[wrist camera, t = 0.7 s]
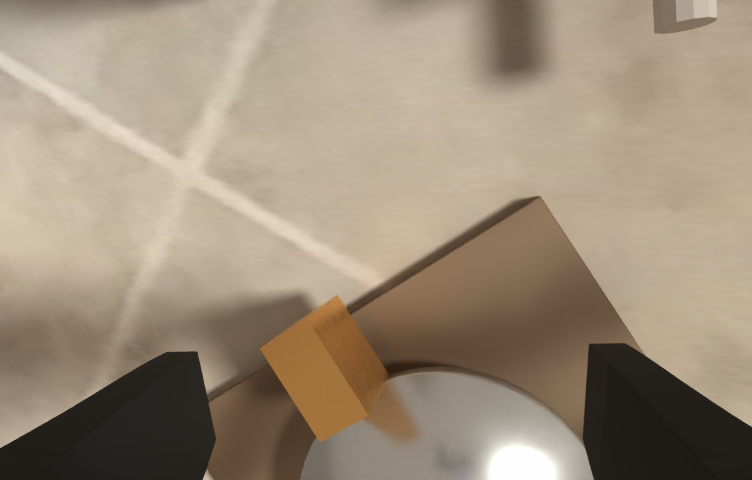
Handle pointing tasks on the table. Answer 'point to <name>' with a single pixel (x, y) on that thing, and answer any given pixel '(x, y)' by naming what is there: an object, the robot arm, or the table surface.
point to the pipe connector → (682, 14)
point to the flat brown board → (448, 338)
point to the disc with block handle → (413, 413)
